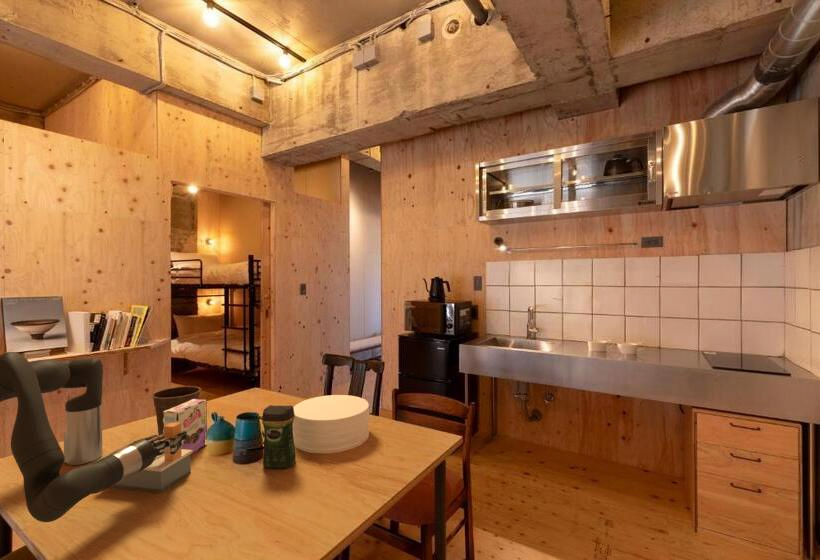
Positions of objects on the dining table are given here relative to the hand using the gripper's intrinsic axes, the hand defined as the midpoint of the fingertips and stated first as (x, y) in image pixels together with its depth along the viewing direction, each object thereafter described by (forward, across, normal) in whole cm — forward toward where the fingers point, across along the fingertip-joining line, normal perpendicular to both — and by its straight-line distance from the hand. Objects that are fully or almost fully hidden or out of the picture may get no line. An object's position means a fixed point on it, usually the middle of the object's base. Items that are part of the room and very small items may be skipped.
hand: (180, 433), depth 116 cm
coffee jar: (+13, -25, +13) cm, 31 cm away
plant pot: (+29, +27, +13) cm, 41 cm away
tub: (-3, +8, +13) cm, 15 cm away
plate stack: (+36, -33, +13) cm, 51 cm away
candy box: (+15, +11, +13) cm, 23 cm away
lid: (-3, +8, +7) cm, 11 cm away
